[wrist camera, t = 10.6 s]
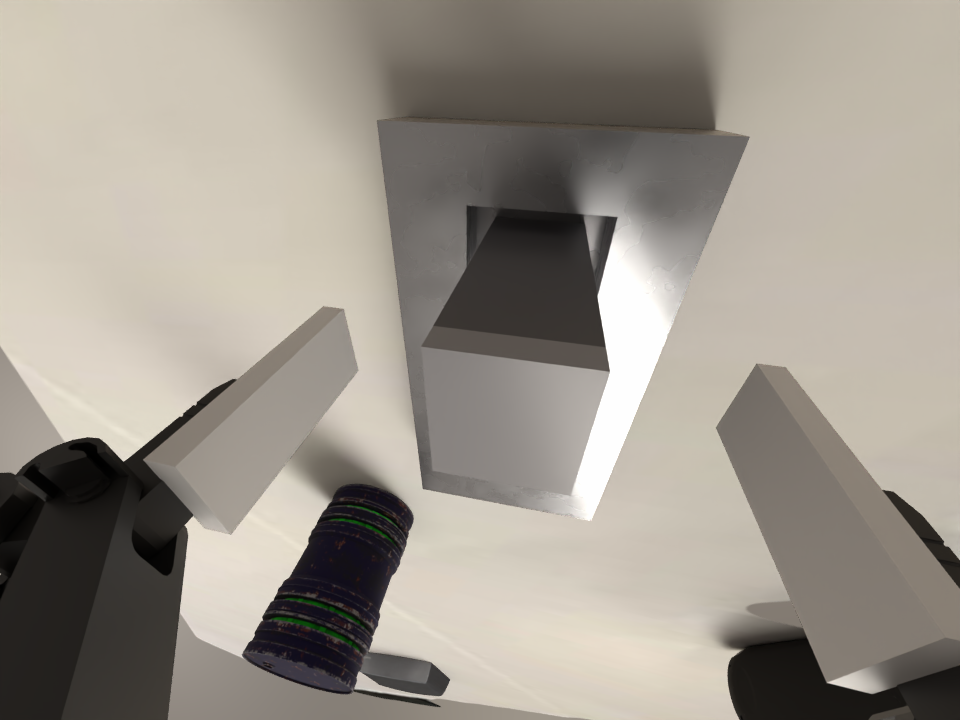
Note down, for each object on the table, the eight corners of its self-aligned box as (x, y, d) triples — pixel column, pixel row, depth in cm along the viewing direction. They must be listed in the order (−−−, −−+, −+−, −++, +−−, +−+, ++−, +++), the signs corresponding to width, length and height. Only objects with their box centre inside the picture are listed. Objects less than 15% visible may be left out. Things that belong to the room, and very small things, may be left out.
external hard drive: (359, 647, 84) (351, 669, 81) (431, 658, 77) (425, 682, 74) (384, 666, 91) (377, 687, 87) (452, 677, 84) (447, 701, 81)
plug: (584, 223, 17) (610, 371, 8) (567, 312, 20) (570, 496, 11) (495, 216, 18) (421, 346, 9) (491, 303, 21) (432, 470, 12)
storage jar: (407, 490, 37) (334, 671, 25) (420, 537, 43) (367, 702, 31) (322, 478, 39) (218, 641, 27) (346, 524, 45) (269, 676, 33)
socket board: (716, 129, 15) (749, 136, 12) (588, 483, 31) (591, 520, 28) (406, 116, 17) (377, 120, 14) (434, 455, 33) (422, 488, 30)
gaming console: (713, 646, 46) (727, 656, 46) (736, 743, 39) (752, 753, 39) (897, 619, 35) (913, 632, 35) (976, 748, 27) (996, 762, 28)
